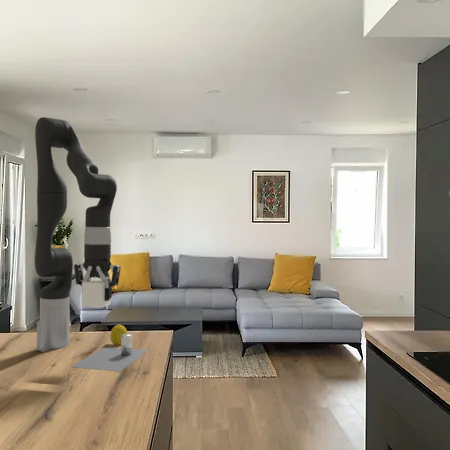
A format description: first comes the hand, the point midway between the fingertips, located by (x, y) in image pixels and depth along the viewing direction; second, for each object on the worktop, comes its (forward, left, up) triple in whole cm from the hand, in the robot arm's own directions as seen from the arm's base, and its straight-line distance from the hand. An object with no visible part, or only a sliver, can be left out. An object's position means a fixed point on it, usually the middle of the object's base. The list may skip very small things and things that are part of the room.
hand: (96, 299), depth 146 cm
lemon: (-2, +21, -20) cm, 29 cm away
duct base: (+3, +4, -20) cm, 20 cm away
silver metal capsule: (+6, +9, -18) cm, 21 cm away
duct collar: (0, 0, -2) cm, 2 cm away
